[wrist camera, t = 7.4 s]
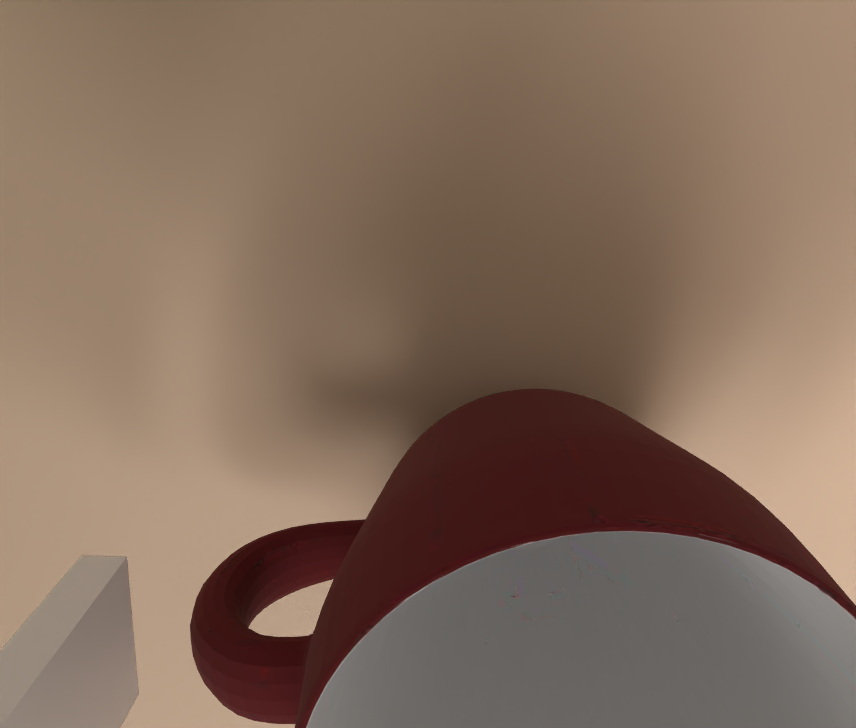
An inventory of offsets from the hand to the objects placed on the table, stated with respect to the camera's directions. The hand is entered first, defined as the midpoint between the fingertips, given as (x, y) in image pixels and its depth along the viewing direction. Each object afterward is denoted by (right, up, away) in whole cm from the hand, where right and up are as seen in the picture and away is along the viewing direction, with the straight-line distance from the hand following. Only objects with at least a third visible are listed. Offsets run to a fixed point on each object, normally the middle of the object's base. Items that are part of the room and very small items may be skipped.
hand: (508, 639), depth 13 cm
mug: (0, +2, +6) cm, 7 cm away
